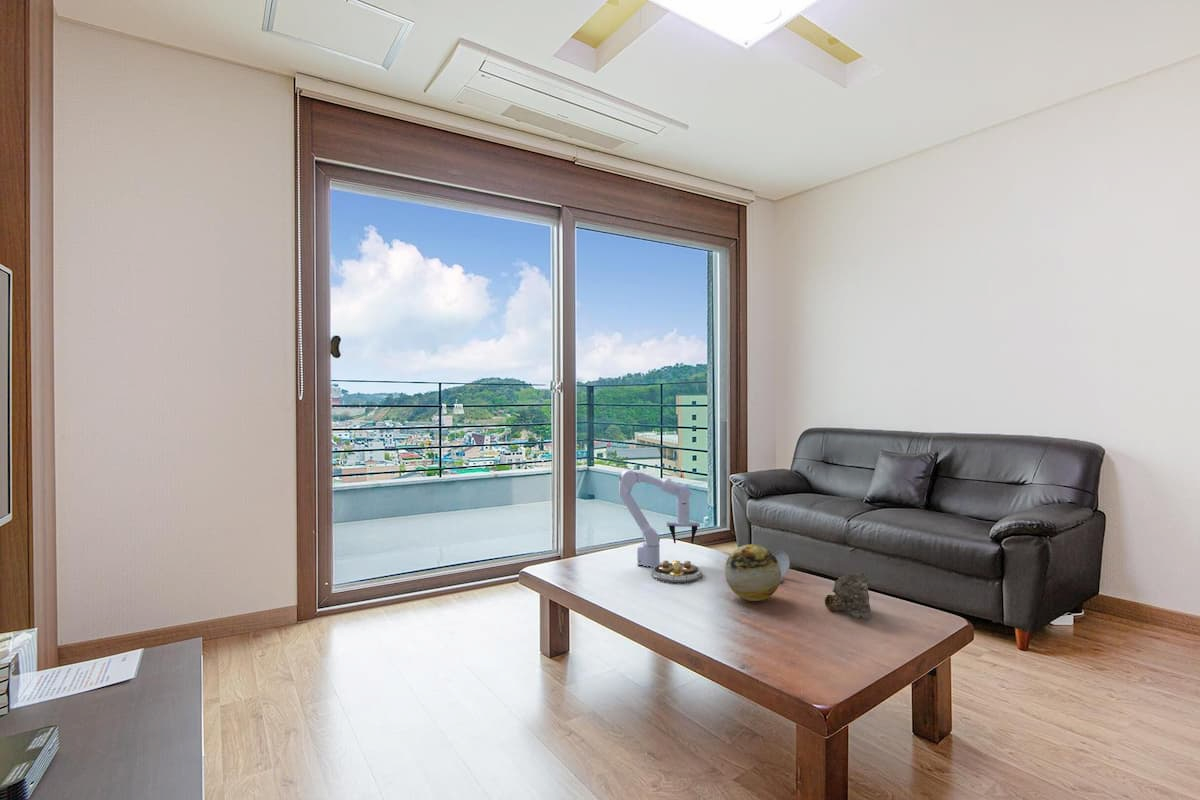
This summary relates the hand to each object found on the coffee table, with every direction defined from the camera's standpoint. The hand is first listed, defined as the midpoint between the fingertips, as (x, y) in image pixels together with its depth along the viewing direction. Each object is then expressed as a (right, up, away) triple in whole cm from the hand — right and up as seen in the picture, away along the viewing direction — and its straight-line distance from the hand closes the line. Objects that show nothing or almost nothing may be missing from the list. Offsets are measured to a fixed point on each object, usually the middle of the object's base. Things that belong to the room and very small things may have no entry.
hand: (683, 542), depth 270 cm
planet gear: (-6, -8, -23) cm, 25 cm away
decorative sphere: (+19, -10, -48) cm, 53 cm away
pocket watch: (+31, -9, -25) cm, 42 cm away
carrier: (-5, -10, -18) cm, 21 cm away
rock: (+48, -9, -64) cm, 80 cm away
